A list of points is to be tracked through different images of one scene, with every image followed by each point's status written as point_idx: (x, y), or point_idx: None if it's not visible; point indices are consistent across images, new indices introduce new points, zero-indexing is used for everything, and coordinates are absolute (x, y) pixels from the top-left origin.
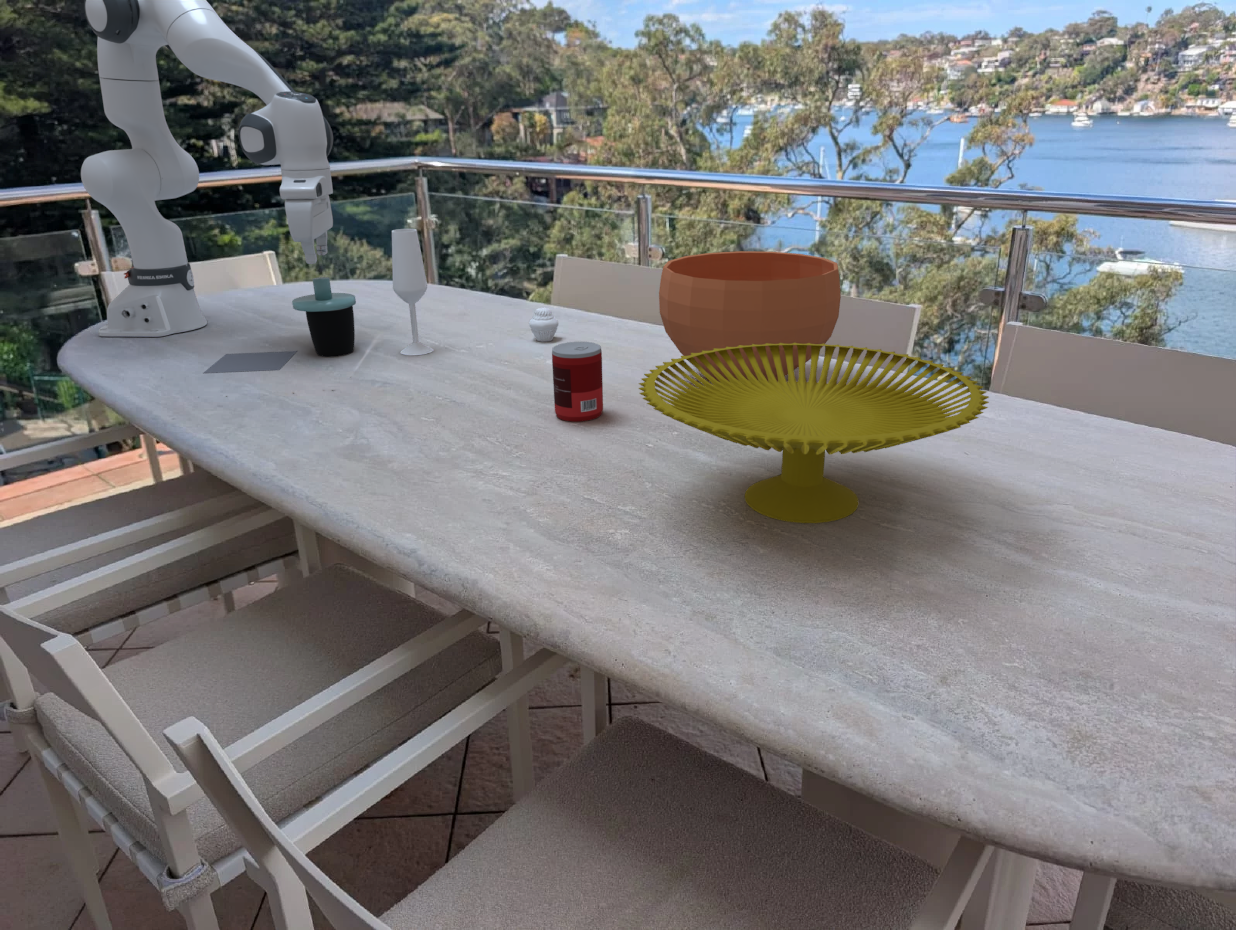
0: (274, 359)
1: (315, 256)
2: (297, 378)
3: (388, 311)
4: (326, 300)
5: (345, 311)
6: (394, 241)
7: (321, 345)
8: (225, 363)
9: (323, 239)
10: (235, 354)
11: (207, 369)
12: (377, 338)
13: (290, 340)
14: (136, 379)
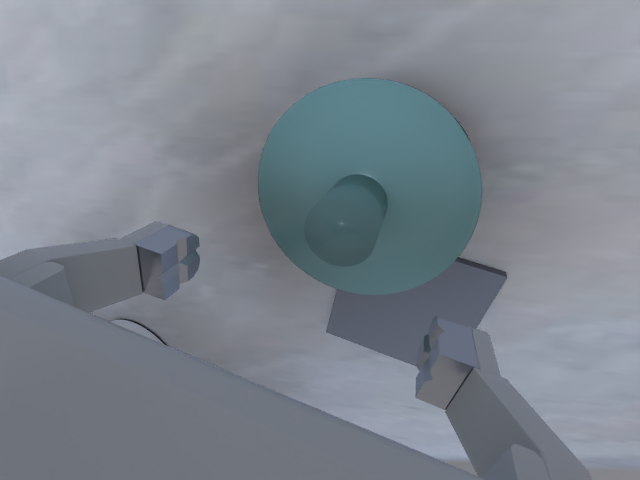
0: None
1: (479, 353)
2: (575, 246)
3: (12, 4)
4: (392, 197)
5: (461, 126)
6: None
7: None
8: (394, 342)
9: (89, 272)
10: (336, 321)
11: None
12: (260, 33)
13: (236, 227)
14: (405, 428)
